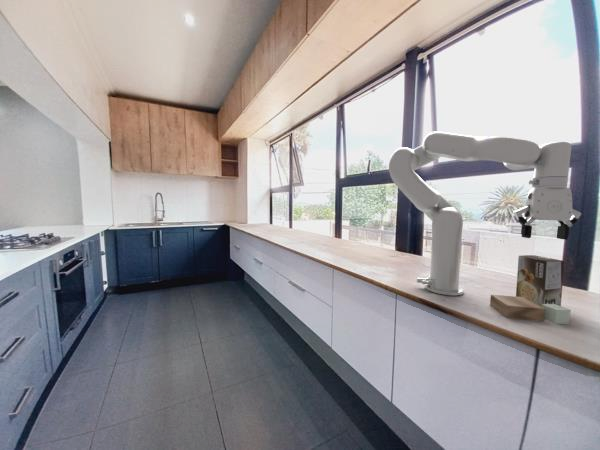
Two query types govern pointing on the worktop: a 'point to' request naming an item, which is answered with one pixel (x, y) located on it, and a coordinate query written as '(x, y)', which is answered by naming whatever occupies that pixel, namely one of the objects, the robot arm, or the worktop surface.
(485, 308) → the worktop surface
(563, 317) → the cube
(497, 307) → the base block
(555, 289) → the coffee box
